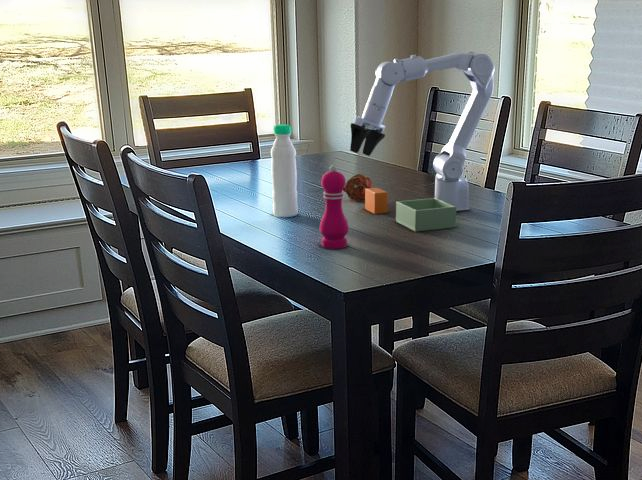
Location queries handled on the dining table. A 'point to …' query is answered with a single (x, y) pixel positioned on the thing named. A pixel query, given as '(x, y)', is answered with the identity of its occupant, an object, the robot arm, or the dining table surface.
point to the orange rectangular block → (376, 200)
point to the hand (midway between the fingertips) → (359, 153)
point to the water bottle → (284, 173)
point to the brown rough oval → (357, 187)
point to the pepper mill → (333, 210)
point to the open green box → (425, 214)
